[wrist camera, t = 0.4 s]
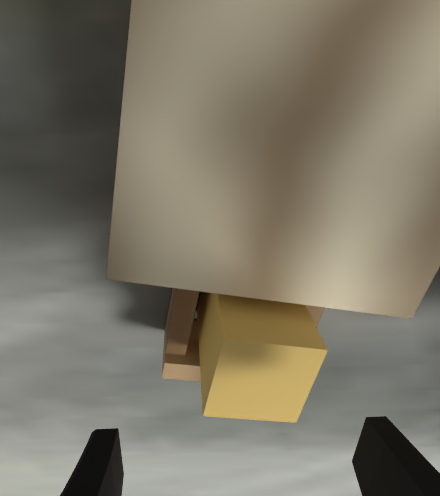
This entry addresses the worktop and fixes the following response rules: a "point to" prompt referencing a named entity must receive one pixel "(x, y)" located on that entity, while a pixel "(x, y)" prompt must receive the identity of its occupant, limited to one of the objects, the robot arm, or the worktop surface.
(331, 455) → the worktop surface
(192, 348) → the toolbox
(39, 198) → the worktop surface
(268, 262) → the lid
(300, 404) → the yellow block
